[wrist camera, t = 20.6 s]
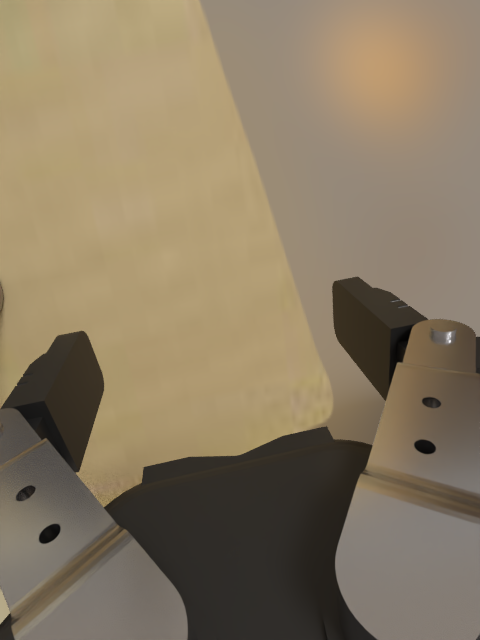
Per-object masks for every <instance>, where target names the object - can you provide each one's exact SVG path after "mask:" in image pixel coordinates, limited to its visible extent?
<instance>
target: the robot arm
mask: <svg viewBox="0 0 480 640" xmlns="http://www.w3.org/2000/svg"><path fill="white" fill-rule="evenodd" d="M332 288H333V291H332V292H333V317H334V329H335V334H336V337H337V339H338V341H339V343H340V344H341V345H342V347H343V348H344V349H345V350H346V352H347V353H348V354H349V355H350V357H351V358H352V359H353V361H354V362H355V363H356V364H357V366H358V367H359V368H360V369H361V371H362V372H363V373H364V374H365V376H366V377H367V378H368V379H369V381H370V382H371V383H372V385H373V386H374V387H375V388H376V390H377V391H378V392H379V393H380V395H381V396H382V397H383V398H384V400H385V401H386V402H385V405H384V409H383V412H382V416H381V419H380V422H379V426H378V429H377V433H376V436H375V439H374V443H373V445H370V444H366V443H363V442H357V441H351V440H334V439H333V438H332V436H331V434H330V432H329V430H328V428H327V427H321V428H317V429H312V430H308V431H303V432H299V433H294V434H290V435H285V436H282V437H280V438H277V439H275V440H273V441H271V442H269V443H266V444H264V445H262V446H260V447H257V448H255V449H253V450H251V451H249V452H246V453H244V454H242V455H238V456H213V457H187V458H183V459H178V460H174V461H169V462H165V463H160V464H156V465H151V466H147V467H144V469H143V478H142V483H141V484H139V485H137V486H135V487H133V488H131V489H129V490H127V491H126V492H124V493H123V494H121V495H120V496H118V497H117V498H115V499H114V500H113V501H111V502H110V503H109V504H108V505H107V506H105V507H104V508H103V506H102V505H101V504H100V503H99V501H98V500H97V499H96V498H95V497H94V495H93V494H92V493H91V492H90V490H89V489H88V488H87V487H86V486H85V484H84V483H83V482H82V481H81V480H80V478H79V477H78V476H77V475H76V473H75V472H79V470H80V467H81V464H82V460H83V457H84V454H85V451H86V447H87V444H88V441H89V437H90V434H91V431H92V428H93V424H94V421H95V418H96V415H97V411H98V408H99V405H100V401H101V398H102V395H103V391H104V380H103V375H102V372H101V369H100V366H99V364H98V361H97V359H96V356H95V353H94V351H93V348H92V346H91V343H90V340H89V338H88V336H87V334H86V333H85V332H84V331H79V332H74V333H69V334H64V335H59V336H57V337H56V339H55V340H54V342H53V343H52V345H51V347H50V348H49V350H48V351H47V353H46V354H43V355H41V356H40V357H39V358H38V359H36V360H35V361H34V362H33V363H32V364H30V366H29V367H28V369H27V370H26V371H25V373H24V374H23V377H21V379H20V380H19V382H18V383H17V386H15V388H14V389H13V391H12V392H11V394H10V395H9V397H8V398H7V400H6V401H5V403H4V404H3V406H2V407H1V409H0V587H1V590H2V592H3V595H4V597H5V600H6V602H7V605H8V607H9V610H10V614H9V615H8V616H7V617H6V618H5V620H4V621H3V622H2V623H1V624H0V640H480V337H476V334H475V332H474V330H473V329H472V328H470V327H469V326H467V325H465V324H463V323H460V322H456V321H452V320H445V319H431V320H428V319H427V318H426V317H424V316H423V315H421V314H420V313H419V312H417V311H416V310H414V309H413V308H412V307H410V306H408V305H407V304H406V303H405V302H403V301H400V299H399V298H398V297H396V296H395V295H393V294H392V293H391V292H388V291H385V290H382V289H378V288H372V287H370V286H369V285H368V284H367V283H365V282H364V281H363V280H362V279H360V278H359V277H353V278H348V279H343V280H338V281H335V282H334V283H333V287H332ZM2 305H3V290H2V287H1V284H0V311H1V308H2Z"/></svg>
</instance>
